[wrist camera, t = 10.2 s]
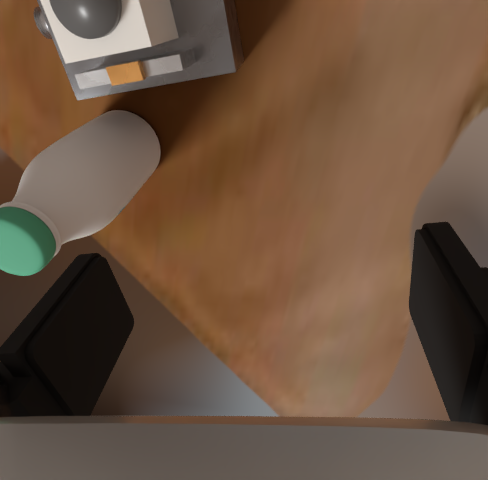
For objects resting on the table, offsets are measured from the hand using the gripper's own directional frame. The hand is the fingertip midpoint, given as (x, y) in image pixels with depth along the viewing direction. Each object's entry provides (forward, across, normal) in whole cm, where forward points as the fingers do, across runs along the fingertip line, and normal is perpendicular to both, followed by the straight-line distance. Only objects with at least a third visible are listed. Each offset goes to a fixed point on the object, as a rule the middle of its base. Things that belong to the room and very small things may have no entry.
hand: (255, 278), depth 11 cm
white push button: (+22, +10, -9) cm, 26 cm away
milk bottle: (+28, +17, +3) cm, 33 cm away
